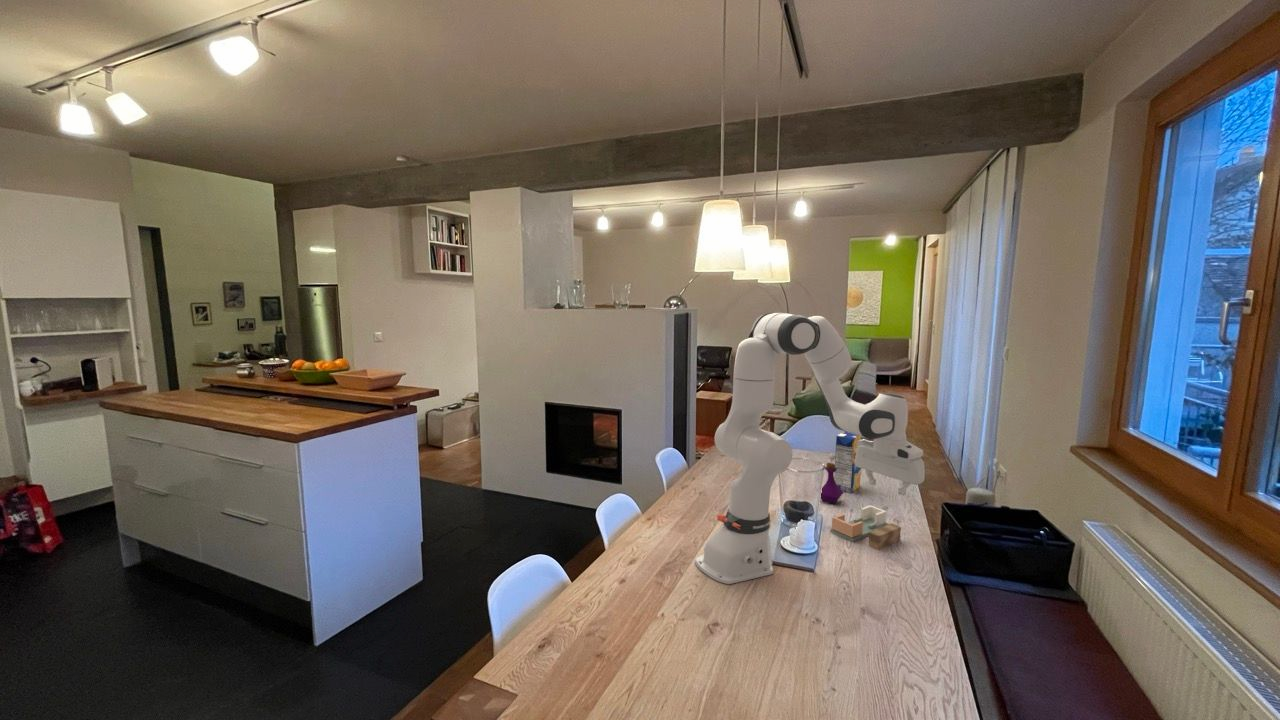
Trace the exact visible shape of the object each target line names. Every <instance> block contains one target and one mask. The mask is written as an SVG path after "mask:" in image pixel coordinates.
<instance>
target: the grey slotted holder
mask: <svg viewBox="0 0 1280 720" xmlns="http://www.w3.org/2000/svg"><path fill="white" fill-rule="evenodd" d="M860 521H862V522H863V530H862V534H859V535H857V536H854V537H850V536H847V535H845V534H843V533H841V532H838V531H836V530H834V529H832V528H830V533H831V534H834V535H837V536H839V537H841V538H843V539H846V540H848V541H850V542H852V543H854V542H856V541H858V540H861V539H863V538H866V537H869V532H872V531H874V530H877V529H879V528H882V527H884V526H887V525H889V524H890V523H887V522H886V521H887V510H884V509H882V508H878V507H876V506H873V505H870V504H869V505H867V506H864V507H862V508H860V516H859V517H857V518H854V519H853V520H850V521H848V523H850V524H855V523H857V522H860Z"/></svg>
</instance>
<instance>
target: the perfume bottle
mask: <svg viewBox="0 0 1280 720" xmlns="http://www.w3.org/2000/svg"><path fill="white" fill-rule="evenodd" d="M836 456H837V455H835V453H829V454H828V459H829V460H830V462H826V466H825V467H824V470H826V472H827V480H826V482H825V483H824V485H823V486H821V488H822V493H821V498H820V500H821V501H822V502H824V503H828V504H833V505H835V504H836V502H838V500H839V499H840V497H842V495H843V494H844V492H843V491H842V490H841V489H840V488H839V487H838V485H837V484H836V483H835V480H834V472H835V471H836V470H837V469H836V468H835V463H832V461H833V460H835V458H836Z"/></svg>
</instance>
